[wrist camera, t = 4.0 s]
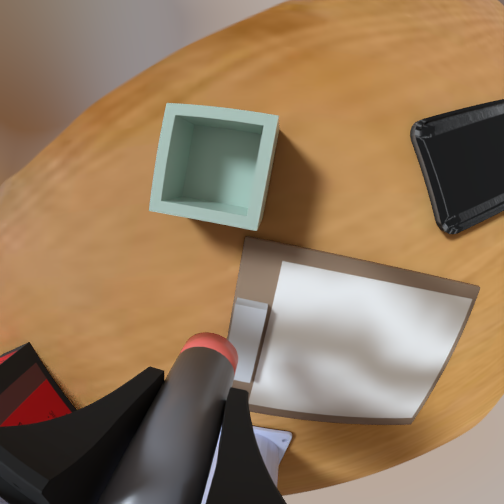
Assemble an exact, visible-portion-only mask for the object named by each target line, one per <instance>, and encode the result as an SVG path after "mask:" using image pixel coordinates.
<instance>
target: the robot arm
mask: <svg viewBox="0 0 504 504" xmlns="http://www.w3.org/2000/svg"><path fill="white" fill-rule="evenodd" d="M163 382H164V371H163V370H160V369H156V368H153V367H148V368H147V369H145V370H144V371H142V372H141V373H140V374H138V375H137V376H135V377H134V378H133V379H131V380H130V381H128V382H127V383H125V384H124V385H122V386H121V387H119V388H118V389H116V390H115V391H113V392H111V393H110V394H108V395H106V396H105V397H103V398H101V399H99V400H97V401H96V402H94V403H92V404H90V405H88V406H86V407H84V408H82V409H79V410H77V411H74V412H72V413H69V414H66V415H64V416H60V417H57V418H54V419H51V420H47V421H43V422H38V423H32V424H26V425H18V426H3V427H0V504H97V502H98V501H99V499H100V497H101V495H102V493H103V491H104V489H105V488H106V486H107V484H108V482H109V480H110V478H111V477H112V475H113V473H114V471H115V469H116V467H117V465H118V464H119V462H120V460H121V458H122V456H123V454H124V453H125V451H126V449H127V447H128V445H129V444H130V442H131V440H132V438H133V436H134V434H135V433H136V431H137V429H138V427H139V425H140V424H141V422H142V420H143V418H144V416H145V415H146V413H147V411H148V409H149V407H150V406H151V404H152V402H153V400H154V399H155V397H156V395H157V393H158V391H159V390H160V388H161V386H162V384H163ZM248 396H249V393H248V391H247V390H243V389H238V388H233V387H230V389H229V393H228V396H227V399H226V405H225V411H224V417H223V423H222V427H221V431H220V435H219V439H218V443H217V447H216V450H215V454H214V458H213V462H212V466H211V469H210V473H209V477H208V481H207V484H206V488H205V492H204V495H203V499H202V503H201V504H286V502H285V500H284V499H283V497H282V496H281V494H280V492H279V491H278V489H277V481H278V465H279V463H280V461H281V459H282V457H283V455H284V453H285V451H286V449H287V447H288V445H289V443H290V441H291V439H292V433H291V432H288V431H281V430H274V429H267V428H261V427H255V426H252V422H251V417H250V411H249V399H248Z"/></svg>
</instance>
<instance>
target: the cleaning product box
mask: <svg viewBox="0 0 504 504" xmlns="http://www.w3.org/2000/svg"><path fill="white" fill-rule="evenodd" d="M74 411H77V410H76V409H75V408H74V406H73V405H72V404H71V403H70V401H69V400H68V399H67V397H66V396H65V395H64V393H63V392H62V391H61V389H60V388H59V387H58V385H57V384H56V382H55V381H54V380H53V378H52V377H51V375H50V374H49V372H48V371H47V369H46V368H45V366H44V365H43V363H42V362H41V360H40V359H39V357H38V355H37V354H36V352H35V351H34V349H33V347H32V346H31V344H30V342H28V343H26V344H24V345H22V346H20V347H17V348H15V349H13V350H11V351H9V352H7V353H4V354H2V355H1V356H0V427H3V426H18V425H26V424H32V423H38V422H43V421H47V420H51V419H54V418H57V417H60V416H64V415H66V414H69V413H72V412H74Z"/></svg>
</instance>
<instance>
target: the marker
mask: <svg viewBox="0 0 504 504" xmlns="http://www.w3.org/2000/svg"><path fill="white" fill-rule="evenodd" d="M237 364H238V353H237V351H236V349H235V347H234V346H233V344H232V343H231V342H230V341H228V340H227V339H226V338H224V337H222V336H220V335H218V334H214V333H207V332H205V333H198V334H195V335H193V336H192V337H190V338H189V339H188V341H187V342H186V344H185V345H184V347H183V349H182V351H181V352H180V354H179V356H178V358H177V359H176V361H175V363H174V365H173V367H172V368H171V370H170V372H169V374H168V375H167V377H166V379H165V381H164V382H163V384H162V386H161V388H160V390H159V391H158V393H157V395H156V397H155V399H154V400H153V402H152V404H151V406H150V407H149V409H148V411H147V413H146V415H145V416H144V418H143V420H142V422H141V424H140V425H139V427H138V429H137V431H136V433H135V434H134V436H133V438H132V440H131V442H130V444H129V445H128V447H127V449H126V451H125V453H124V454H123V456H122V458H121V460H120V462H119V464H118V465H117V467H116V469H115V471H114V473H113V475H112V477H111V478H110V480H109V482H108V484H107V486H106V488H105V489H104V491H103V493H102V495H101V497H100V499H99V501H98V502H97V504H201V503H202V499H203V495H204V492H205V488H206V484H207V481H208V477H209V473H210V469H211V466H212V462H213V458H214V454H215V450H216V447H217V443H218V439H219V435H220V431H221V427H222V423H223V417H224V411H225V405H226V399H227V396H228V393H229V389H230V387H232V384H233V380H234V376H235V372H236V368H237Z"/></svg>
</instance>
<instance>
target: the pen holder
mask: <svg viewBox="0 0 504 504" xmlns="http://www.w3.org/2000/svg"><path fill="white" fill-rule="evenodd" d="M278 135H279V116H277V115H271V114H265V113H259V112H252V111H245V110H238V109H230V108H221V107H212V106H202V105H189V104H174V103H167V104H166V109H165V114H164V118H163V123H162V129H161V134H160V139H159V145H158V151H157V157H156V163H155V170H154V176H153V183H152V191H151V199H150V207H149V211H153V212H159V213H164V214H170V215H175V216H181V217H186V218H192V219H197V220H202V221H208V222H213V223H218V224H223V225H228V226H233V227H239V228H244V229H249V230H254V231H257V230H258V228H259V225H260V223H261V221H262V219H263V214H264V208H265V203H266V198H267V193H268V187H269V182H270V177H271V172H272V166H273V161H274V156H275V150H276V145H277V140H278Z"/></svg>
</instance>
